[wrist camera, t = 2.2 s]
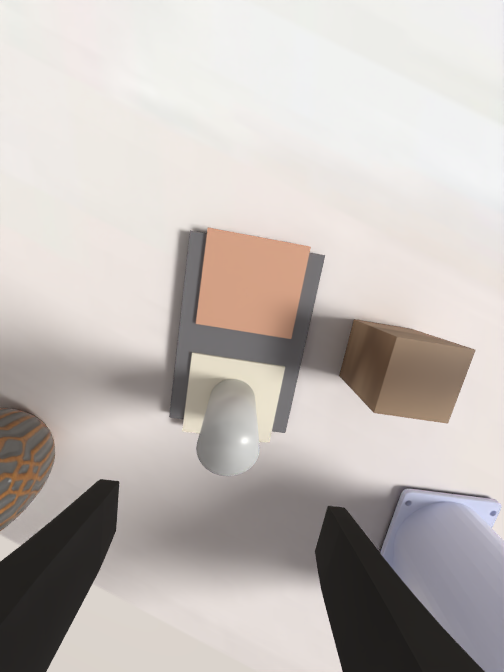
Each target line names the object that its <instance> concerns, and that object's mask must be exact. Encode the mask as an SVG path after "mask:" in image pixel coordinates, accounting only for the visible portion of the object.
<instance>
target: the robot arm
mask: <svg viewBox="0 0 504 672" xmlns="http://www.w3.org/2000/svg"><path fill="white" fill-rule="evenodd" d="M118 494H119V481H112V480H103V479H100V480H99V481H97V482H96V483H95V484H94V485H93V486H92V487H90V488H89V489H88V490H87V491H86V492H85V493H84V494H82V495H81V496H80V497H79V498H78V499H77V500H75V501H74V502H73V503H72V504H71V505H70V506H68V507H67V508H66V509H65V510H64V511H63V512H61V513H60V514H59V515H58V516H57V517H56V518H54V519H53V520H52V521H51V522H49V523H48V524H47V525H46V526H45V527H43V528H42V529H41V530H40V531H39V532H37V533H36V534H35V535H34V536H32V537H31V538H30V539H29V540H28V541H26V542H25V543H24V544H22V545H21V546H20V547H19V548H17V549H16V550H15V551H13V552H12V553H11V554H10V555H8V556H7V557H6V558H4V559H3V560H2V561H0V672H46V671H47V669H48V667H49V665H50V663H51V661H52V659H53V658H54V656H55V654H56V652H57V650H58V648H59V646H60V644H61V643H62V641H63V639H64V637H65V635H66V633H67V631H68V629H69V627H70V625H71V624H72V622H73V620H74V618H75V616H76V614H77V612H78V610H79V608H80V606H81V605H82V602H83V601H84V599H85V597H86V595H87V593H88V591H89V589H90V587H91V585H92V583H93V582H94V580H95V578H96V576H97V574H98V572H99V570H100V568H101V565H102V563H103V561H104V558H105V556H106V554H107V551H108V549H109V546H110V544H111V542H112V539H113V537H114V534H115V532H116V523H117V508H118ZM500 510H501V504H500V503H499V502H498V501H497V500H495V499H489V498H481V497H473V496H465V495H457V494H449V493H441V492H433V491H425V490H417V489H405V490H403V491H402V493H401V496H400V498H399V501H398V504H397V507H396V510H395V512H394V515H393V518H392V521H391V524H390V526H389V529H388V532H387V535H386V538H385V540H384V543H383V546H382V549H381V552H379V551H378V550H377V548H376V547H375V546H374V545H373V543H372V542H371V541H370V540H369V538H368V537H367V536H366V534H365V533H364V532H363V530H362V529H361V528H360V527H359V525H358V524H357V523H356V521H355V520H354V519H353V518H352V516H351V515H350V514H349V513H348V511H347V510H346V509H345V508H342V507H333V506H328V508H327V511H326V515H325V518H324V522H323V525H322V529H321V532H320V536H319V539H318V543H317V546H316V550H315V555H316V561H317V567H318V574H319V579H320V585H321V590H322V594H323V598H324V602H325V606H326V610H327V614H328V618H329V622H330V625H331V629H332V633H333V637H334V640H335V644H336V648H337V652H338V656H339V659H340V663H341V667H342V671H343V672H504V540H503V539H502V538H501V537H500V536H499V535H498V534H497V533H496V532H495V531H494V530H493V529H492V527H493V525H494V523H495V520H496V518H497V516H498V514H499V512H500Z"/></svg>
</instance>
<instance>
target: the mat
mask: <svg viewBox="0 0 504 672" xmlns="http://www.w3.org/2000/svg"><path fill="white" fill-rule="evenodd" d="M310 248H311V247H309V246H304V245H298V244H293V243H288V242H282V241H277V240H272V239H266V238H261V237H255V236H250V235H245V234H239V233H234V232H229V231H223V230H218V229H213V228H208V230H207V233H201V232H196V231H190V236H189V245H188V254H187V263H186V272H185V281H184V290H183V299H182V308H181V317H180V326H179V335H178V344H177V353H176V362H175V371H174V380H173V389H172V398H171V407H170V416H169V417H171V418H178V419H184V421H183V429H182V431H183V432H190V433H198V434H200V431H201V427H202V423H203V420H204V416H205V412H206V409H207V405H208V401H209V398H210V394H211V392H212V390H213V388H214V387H215V386H216V385H217V384H218V383H220V382H221V381H224V380H227V379H238V380H241V381H243V382H245V383H247V384H248V385H249V386H250V387H251V388H252V390H253V392H254V395H255V402H256V413H257V423H258V434H259V442H266V443H269V442H270V437H271V432H272V431H274V432H282V433H285V432H286V427H287V423H288V418H289V414H290V409H291V405H292V401H293V396H294V392H295V387H296V383H297V378H298V374H299V369H300V365H301V361H302V356H303V352H304V347H305V343H306V338H307V334H308V329H309V325H310V320H311V316H312V312H313V307H314V303H315V298H316V294H317V289H318V285H319V280H320V276H321V272H322V267H323V263H324V258H325V255H320V254H315V253H310Z"/></svg>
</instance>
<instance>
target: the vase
mask: <svg viewBox="0 0 504 672" xmlns="http://www.w3.org/2000/svg"><path fill="white" fill-rule="evenodd" d="M54 459H55V444H54V440H53V437H52V434H51V432H50V430H49V429H48V427H47V426H46V425H45V424H44V423H43V422H42V421H41V420H40V419H38V418H37V417H35V416H33V415H31V414H29V413H26V412H24V411H21V410H17V409H9V408H0V531H1V530H2V529H4V528H5V527H6V526H8V525H9V524H10V523H11V522H12V521H14V520H15V519H16V518H17V517H18V516H19V515H20V514H21V513H22V512H23V511H24V510H25V509H26V508H27V506H28V505H29V504H30V503H31V502H32V501H33V499H34V498H35V497H36V496H37V494H38V493H39V492H40V490H41V489H42V487H43V485H44V484H45V482H46V480H47V478H48V476H49V474H50V472H51V469H52V466H53V463H54Z"/></svg>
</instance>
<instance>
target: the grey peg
mask: <svg viewBox="0 0 504 672" xmlns="http://www.w3.org/2000/svg"><path fill="white" fill-rule="evenodd" d="M196 449H197V456H198V458H199V460H200V462H201V463H202V465H203V466H204V467H205V468H206V469H208V470H209V471H211V472H212V473H215V474H217V475H221V476H235V475H239V474H241V473H244V472H246V471H247V470H249V469H250V468H251V467H252V466H253V465H254V464H255V462H256V461H257V459H258V456H259V451H260V445H259V434H258V423H257V413H256V402H255V395H254V392H253V390H252V388H251V387H250V386H249V385H248V384H247V383H245V382H243V381H241V380H238V379H227V380H224V381H221V382H220V383H218V384H217V385H216V386H215V387H214V388H213V390H212V392H211V394H210V398H209V401H208V405H207V409H206V412H205V416H204V420H203V423H202V427H201V431H200V434H199V438H198V442H197V448H196Z"/></svg>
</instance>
